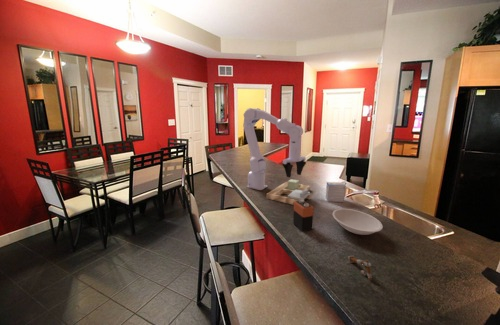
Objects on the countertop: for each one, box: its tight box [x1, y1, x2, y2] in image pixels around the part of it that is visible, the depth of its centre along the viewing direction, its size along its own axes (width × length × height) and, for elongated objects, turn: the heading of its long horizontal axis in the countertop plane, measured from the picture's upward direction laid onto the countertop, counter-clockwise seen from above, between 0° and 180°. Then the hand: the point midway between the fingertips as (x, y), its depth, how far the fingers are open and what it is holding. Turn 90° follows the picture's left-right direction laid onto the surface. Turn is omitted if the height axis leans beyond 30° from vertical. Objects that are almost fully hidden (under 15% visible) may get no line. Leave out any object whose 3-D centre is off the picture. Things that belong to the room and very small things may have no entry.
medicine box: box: [325, 181, 347, 203], centre depth 107 cm, size 8×4×9 cm, turn 84°
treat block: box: [287, 178, 300, 191], centre depth 120 cm, size 4×4×6 cm
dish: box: [332, 208, 384, 236], centre depth 79 cm, size 18×14×5 cm
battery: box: [292, 199, 314, 232], centre depth 82 cm, size 4×7×10 cm, turn 20°
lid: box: [287, 189, 311, 201], centre depth 107 cm, size 8×10×3 cm
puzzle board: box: [266, 181, 312, 206], centre depth 115 cm, size 18×24×2 cm
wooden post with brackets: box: [347, 255, 373, 280], centre depth 60 cm, size 2×8×4 cm, turn 12°
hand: (293, 175), depth 115 cm, fingers open, 7 cm apart
